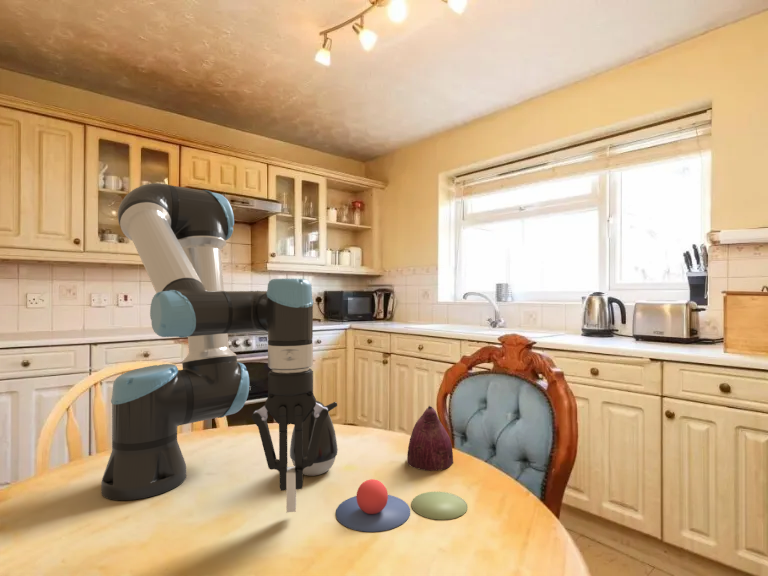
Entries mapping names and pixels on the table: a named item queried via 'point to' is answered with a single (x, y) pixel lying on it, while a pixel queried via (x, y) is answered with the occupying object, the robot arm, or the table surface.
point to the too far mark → (439, 505)
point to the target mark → (373, 515)
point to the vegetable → (429, 444)
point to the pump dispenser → (325, 444)
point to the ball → (372, 496)
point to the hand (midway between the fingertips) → (291, 508)
